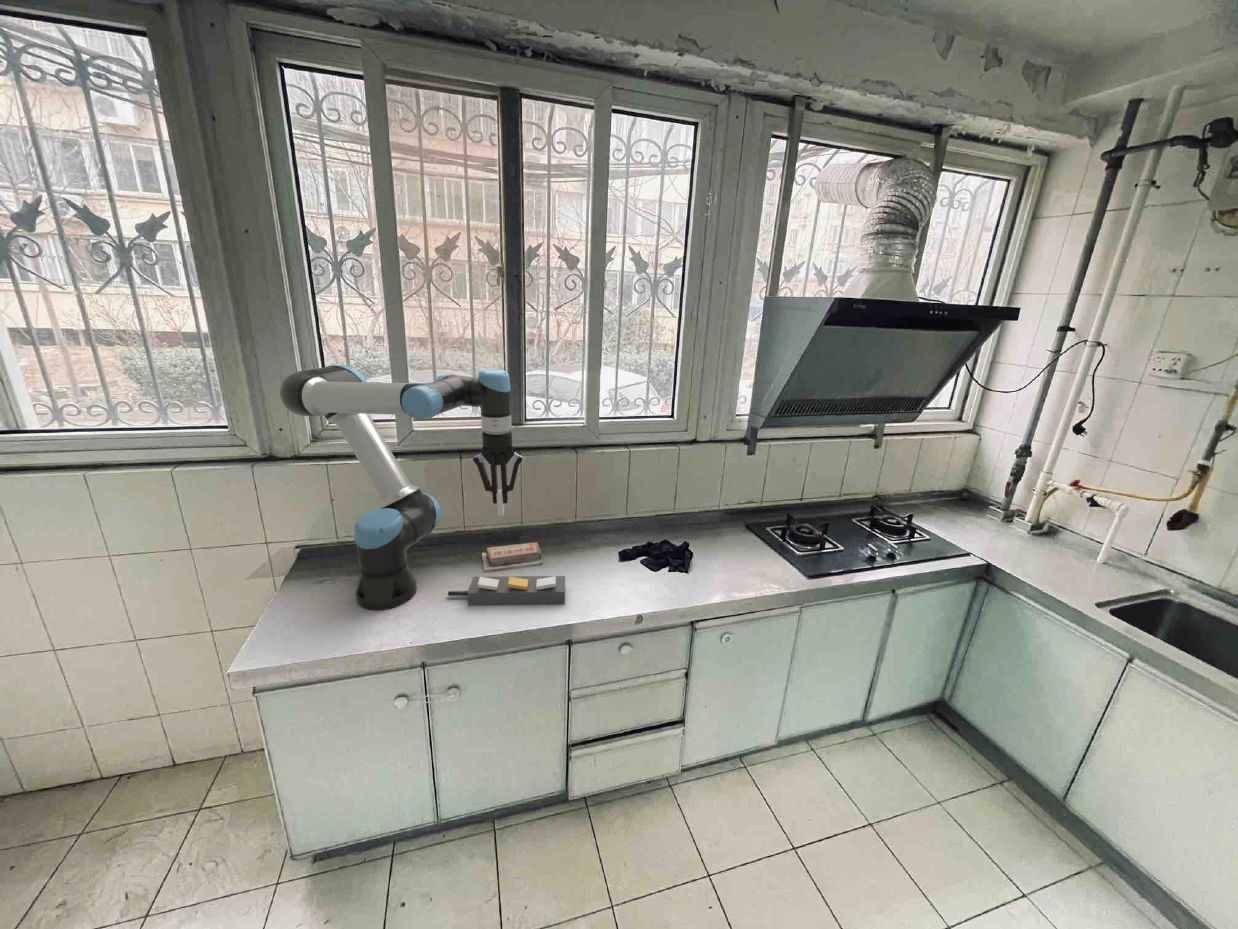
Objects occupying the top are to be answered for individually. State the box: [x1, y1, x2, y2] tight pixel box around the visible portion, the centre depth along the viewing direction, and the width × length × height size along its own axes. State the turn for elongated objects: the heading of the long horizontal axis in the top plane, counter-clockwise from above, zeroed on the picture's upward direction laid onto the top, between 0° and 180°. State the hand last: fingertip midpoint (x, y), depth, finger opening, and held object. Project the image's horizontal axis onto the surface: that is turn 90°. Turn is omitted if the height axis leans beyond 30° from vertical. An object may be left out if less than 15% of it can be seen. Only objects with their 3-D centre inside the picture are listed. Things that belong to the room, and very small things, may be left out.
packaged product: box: [481, 541, 544, 573], centre depth 155 cm, size 18×5×10 cm
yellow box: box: [508, 577, 528, 590], centre depth 134 cm, size 5×4×1 cm
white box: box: [477, 576, 499, 590], centre depth 134 cm, size 5×4×1 cm
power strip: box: [447, 575, 566, 607], centre depth 136 cm, size 32×8×4 cm, turn 95°
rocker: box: [536, 575, 557, 590], centre depth 135 cm, size 5×4×1 cm
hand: (501, 513), depth 134 cm, fingers closed
